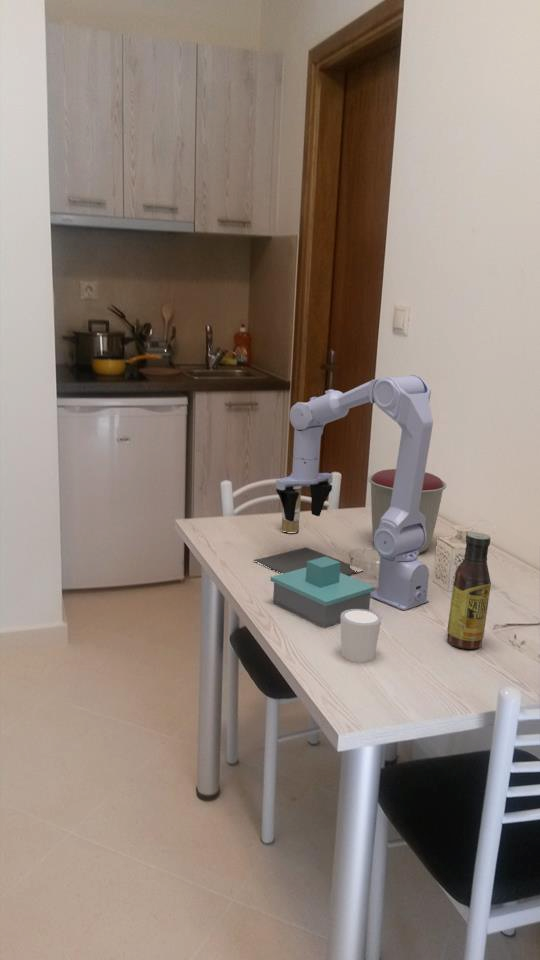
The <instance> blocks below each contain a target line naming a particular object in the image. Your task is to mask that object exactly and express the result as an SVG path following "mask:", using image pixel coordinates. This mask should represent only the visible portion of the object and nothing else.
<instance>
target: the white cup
mask: <svg viewBox="0 0 540 960" xmlns="http://www.w3.org/2000/svg"><path fill="white" fill-rule="evenodd" d="M340 618H341V622H340V654H341V657H342V658H344V659H345V660H347V661H350V662H352V663H360V664H363V663H369V662H371V661H373V660H374V659H375V657H376V651H377V645H378V641H379V634H380V630H381V625H382V618H383V617H382V616H381V615H380V614H378V613H377V612H376V611H371V610H370V609H369V610H364V609H350V610H345V611H344V612H342V613H341V616H340Z"/></svg>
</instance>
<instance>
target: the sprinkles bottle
mask: <svg viewBox="0 0 540 960" xmlns="http://www.w3.org/2000/svg"><path fill="white" fill-rule="evenodd" d="M302 487H303V486H300V487H294V488H293V489H295V491H296V492H299V496H298V498H297V502H296V506H295V517H294V521H289V520H286V519H285V514H284V509H283V508H282V513H281V528H280V531H281V530H282V531H286V532H297V531H299V532H300V530H299V528H300V526H299V524H300V517H301V516H300V515H301V498H302V494H301V493H302ZM282 531H281V532H282Z"/></svg>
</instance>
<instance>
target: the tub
mask: <svg viewBox="0 0 540 960" xmlns="http://www.w3.org/2000/svg"><path fill="white" fill-rule="evenodd" d="M370 594H371V592H369V593H366V594H363V595H360V596H356V597H353V598H350V599H347V600H344V601H341V602H338V603H334V604H331V605H328V606H324V605H322V604H320V603H318V602H316V601H313V600H311V599H309V598H307V597H305V596H302V595H300V594H298V593H296V592H294V591H292V590H289V589H287V588H285V587H283V586H281V585H278V584H276V583H274V582H273V597H272V604H275V605H276V606H279V607H280V608H282V609H285V610H286V611H289V612H290V613H292V614H295V615H297V616H299V617H301V618H303V619H305V620H306V621H310V622H311V623H313V624H315V625H317V626H320V627H322V628H324V629H326V628H328V627H332V626H335V625H337V624H339V623H340V624H341V618H340V616H341V613H342V612H344V611H345V610H350V609H364V610H369V611H370V603H371V596H370Z"/></svg>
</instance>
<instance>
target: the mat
mask: <svg viewBox="0 0 540 960" xmlns="http://www.w3.org/2000/svg"><path fill="white" fill-rule="evenodd" d="M322 557H328V558H331V559H333V560H336V561H338V562H341V563H340V573H342V574H345V575H347V576H352V574H353V575H356V574H357V573H356V572H357V571H356V572H355V571H354V570H352V569H351V568H350V565H351V564H350V563H347V562H344V561H342V560H339V559H336V557H335V558H334V557H332V556H330V555H326V554H324V553H322V552H319V551H317V550H315V549H311V548H309V547H301V548H298V549H295V550H290V551H286V552H281V553H277V554H273V555H269V556H267V557H262V558H258V559H253V562H254V561H257V562H259V563H261V564H263V565H265V566H267V567H269V568H271V569H273V570H275V571H274V572H276V571H278V572H280V573H287V572H291V571H295V570H298V569H302V568H306V566H307V561H310V560H314V559H318V558H322ZM269 568H268V569H269ZM271 569H270V570H271ZM273 570H272V571H273ZM278 572H277V573H278ZM280 573H279V574H280ZM355 573H356V574H355Z"/></svg>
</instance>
